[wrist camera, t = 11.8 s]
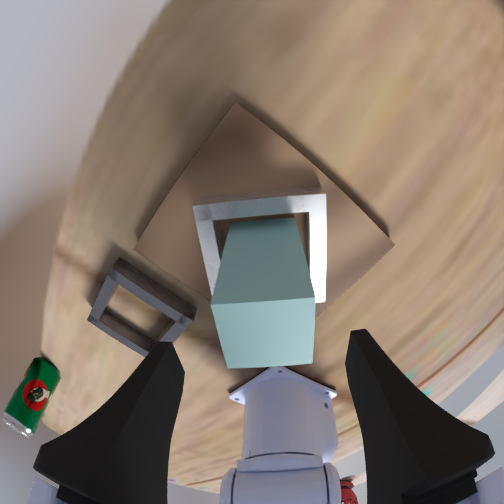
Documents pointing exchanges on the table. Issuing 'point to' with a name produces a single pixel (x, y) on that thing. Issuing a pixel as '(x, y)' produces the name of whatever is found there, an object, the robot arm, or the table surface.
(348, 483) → the plant pot
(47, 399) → the soda can
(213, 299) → the teal peg
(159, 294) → the stand socket
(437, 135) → the table surface
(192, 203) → the socket board
